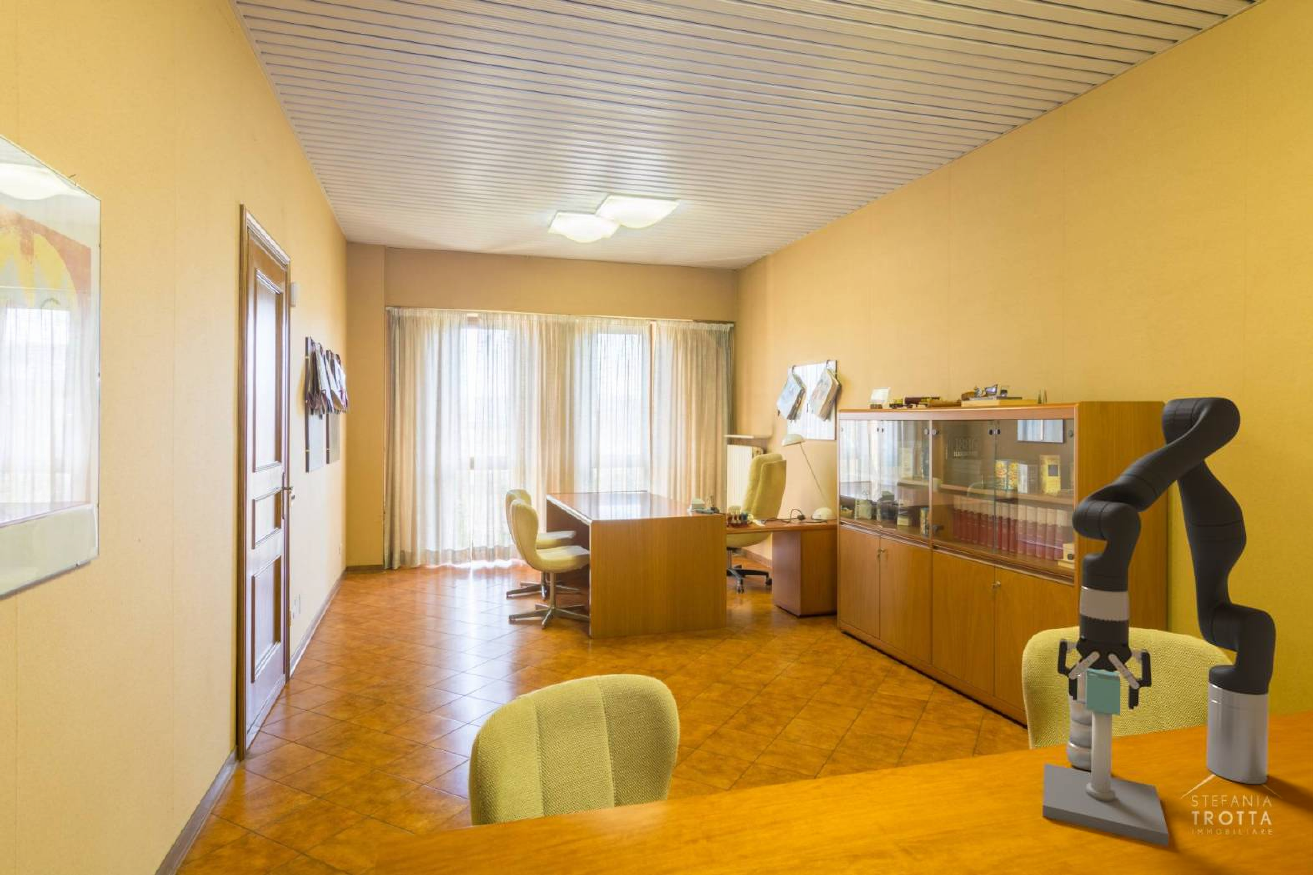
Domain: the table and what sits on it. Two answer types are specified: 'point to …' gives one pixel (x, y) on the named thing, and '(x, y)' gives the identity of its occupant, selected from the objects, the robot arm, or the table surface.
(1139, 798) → the post stand
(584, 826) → the table surface
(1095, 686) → the teal cube
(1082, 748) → the plastic bottle
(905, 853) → the table surface
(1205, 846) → the table surface
